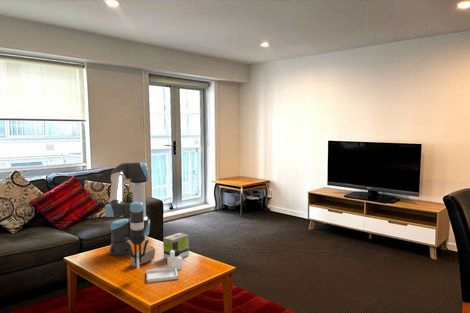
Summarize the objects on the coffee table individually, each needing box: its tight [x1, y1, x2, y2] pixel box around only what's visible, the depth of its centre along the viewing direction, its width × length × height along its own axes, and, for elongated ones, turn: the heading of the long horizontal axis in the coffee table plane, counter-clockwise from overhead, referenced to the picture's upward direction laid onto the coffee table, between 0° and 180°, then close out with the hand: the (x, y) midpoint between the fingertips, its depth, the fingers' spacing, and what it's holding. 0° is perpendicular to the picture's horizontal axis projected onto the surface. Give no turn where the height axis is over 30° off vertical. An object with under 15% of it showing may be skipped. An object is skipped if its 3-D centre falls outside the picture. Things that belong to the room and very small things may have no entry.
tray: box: [145, 267, 179, 284], centre depth 206 cm, size 14×18×2 cm
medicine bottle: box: [166, 249, 184, 271], centre depth 218 cm, size 7×7×12 cm
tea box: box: [162, 232, 190, 260], centre depth 237 cm, size 15×10×15 cm, turn 141°
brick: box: [129, 245, 156, 268], centre depth 226 cm, size 17×8×5 cm
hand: (138, 268), depth 202 cm, fingers closed
